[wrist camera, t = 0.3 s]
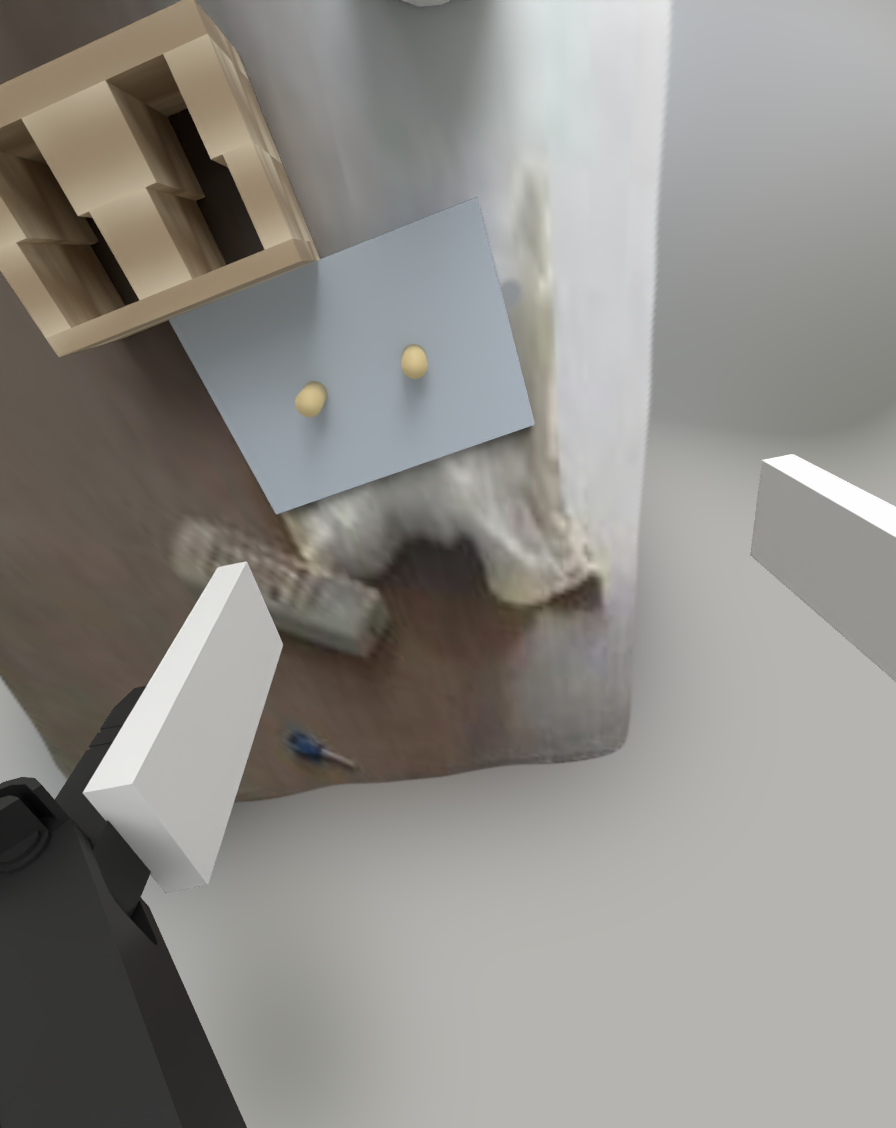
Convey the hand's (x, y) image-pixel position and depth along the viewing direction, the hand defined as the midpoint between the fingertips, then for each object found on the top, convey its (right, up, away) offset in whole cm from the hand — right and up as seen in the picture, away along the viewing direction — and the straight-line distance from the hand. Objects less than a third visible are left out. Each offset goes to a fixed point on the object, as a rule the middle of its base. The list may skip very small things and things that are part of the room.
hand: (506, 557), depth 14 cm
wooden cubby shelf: (-18, +20, +17) cm, 32 cm away
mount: (-7, +13, +23) cm, 27 cm away
